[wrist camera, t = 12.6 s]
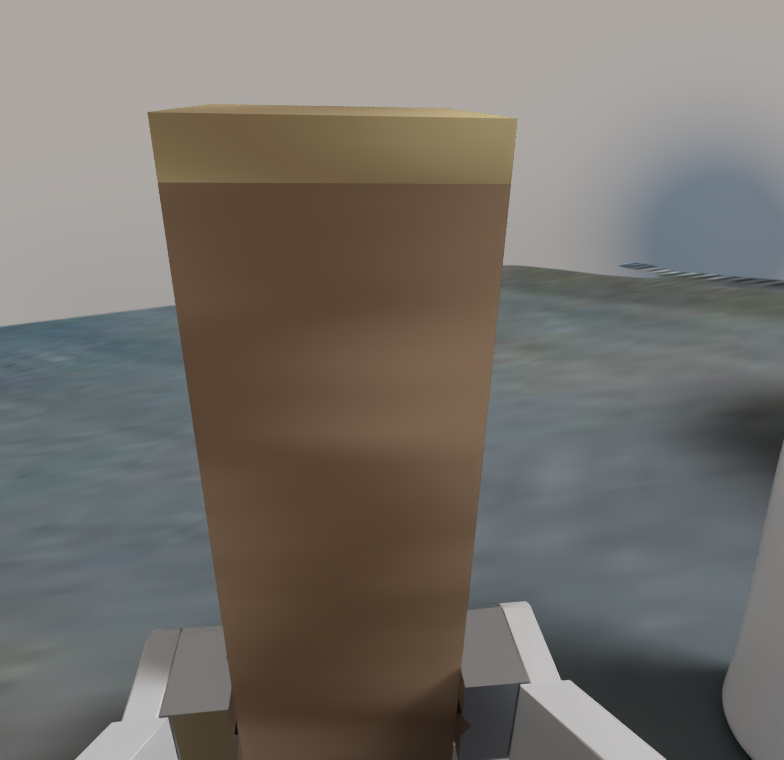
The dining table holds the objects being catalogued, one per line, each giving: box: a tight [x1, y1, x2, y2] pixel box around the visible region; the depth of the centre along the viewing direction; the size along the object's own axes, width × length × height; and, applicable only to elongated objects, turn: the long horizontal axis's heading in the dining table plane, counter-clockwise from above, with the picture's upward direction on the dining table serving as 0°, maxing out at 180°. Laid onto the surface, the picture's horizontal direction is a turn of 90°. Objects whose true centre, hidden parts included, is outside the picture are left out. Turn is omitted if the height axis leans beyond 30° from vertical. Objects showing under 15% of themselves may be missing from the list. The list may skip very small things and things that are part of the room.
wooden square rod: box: [148, 104, 517, 760], centre depth 11 cm, size 3×3×17 cm
